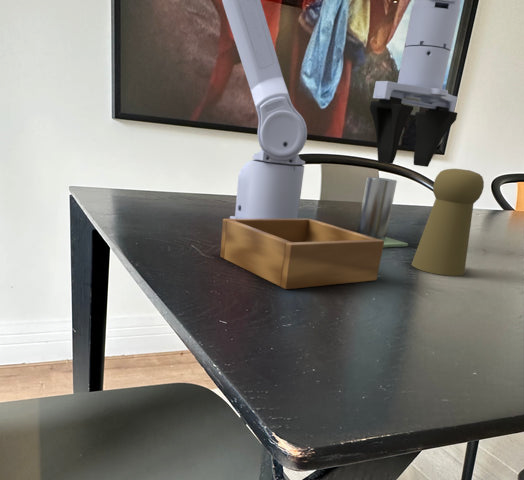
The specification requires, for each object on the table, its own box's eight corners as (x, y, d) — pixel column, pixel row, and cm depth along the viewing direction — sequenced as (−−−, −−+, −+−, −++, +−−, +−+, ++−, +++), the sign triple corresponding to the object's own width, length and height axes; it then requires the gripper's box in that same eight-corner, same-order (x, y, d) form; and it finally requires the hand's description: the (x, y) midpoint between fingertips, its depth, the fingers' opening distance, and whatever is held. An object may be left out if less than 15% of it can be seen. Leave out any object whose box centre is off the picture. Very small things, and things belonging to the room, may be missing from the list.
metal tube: (351, 236, 70) (361, 176, 66) (365, 234, 73) (375, 176, 69) (376, 242, 67) (388, 180, 64) (389, 240, 70) (402, 180, 67)
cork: (468, 278, 55) (497, 174, 51) (413, 270, 56) (437, 167, 52) (460, 266, 61) (485, 171, 56) (409, 259, 61) (430, 165, 57)
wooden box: (219, 257, 52) (222, 218, 51) (305, 252, 59) (309, 218, 57) (285, 289, 44) (291, 244, 42) (376, 280, 50) (384, 240, 49)
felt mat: (332, 235, 71) (332, 233, 71) (369, 234, 75) (369, 232, 75) (370, 248, 65) (370, 245, 65) (407, 246, 69) (408, 243, 69)
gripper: (416, 36, 56) (391, 164, 61) (486, 59, 64) (459, 170, 69) (369, 40, 61) (350, 158, 66) (440, 61, 69) (418, 164, 74)
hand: (403, 164), depth 68 cm, fingers open, 7 cm apart
